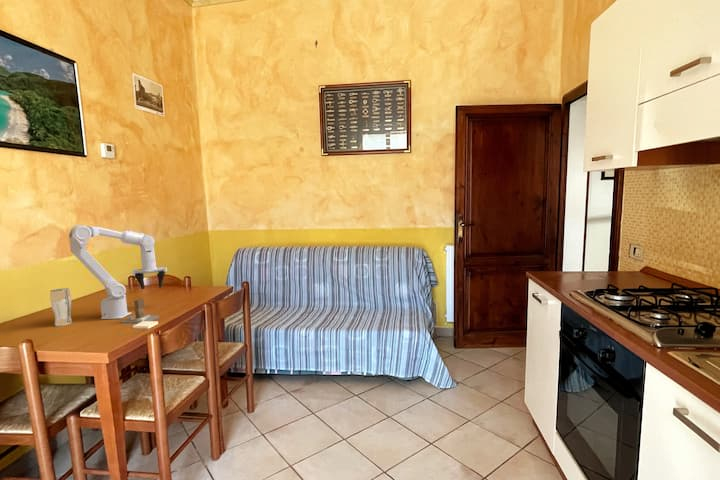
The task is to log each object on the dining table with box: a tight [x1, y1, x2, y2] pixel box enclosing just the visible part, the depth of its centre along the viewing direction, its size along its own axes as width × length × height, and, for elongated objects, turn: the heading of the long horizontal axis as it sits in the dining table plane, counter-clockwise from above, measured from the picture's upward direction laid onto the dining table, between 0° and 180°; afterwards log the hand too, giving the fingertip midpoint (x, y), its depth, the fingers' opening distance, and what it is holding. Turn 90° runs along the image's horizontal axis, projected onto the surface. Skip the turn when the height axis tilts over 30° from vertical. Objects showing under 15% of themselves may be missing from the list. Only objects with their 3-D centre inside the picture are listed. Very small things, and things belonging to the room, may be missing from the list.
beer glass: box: [49, 287, 73, 327], centre depth 162 cm, size 7×7×15 cm
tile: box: [132, 320, 159, 330], centre depth 157 cm, size 2×6×7 cm
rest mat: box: [120, 315, 160, 324], centre depth 165 cm, size 12×8×1 cm, turn 89°
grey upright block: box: [131, 297, 151, 321], centre depth 164 cm, size 5×6×9 cm
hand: (151, 287), depth 180 cm, fingers open, 7 cm apart
